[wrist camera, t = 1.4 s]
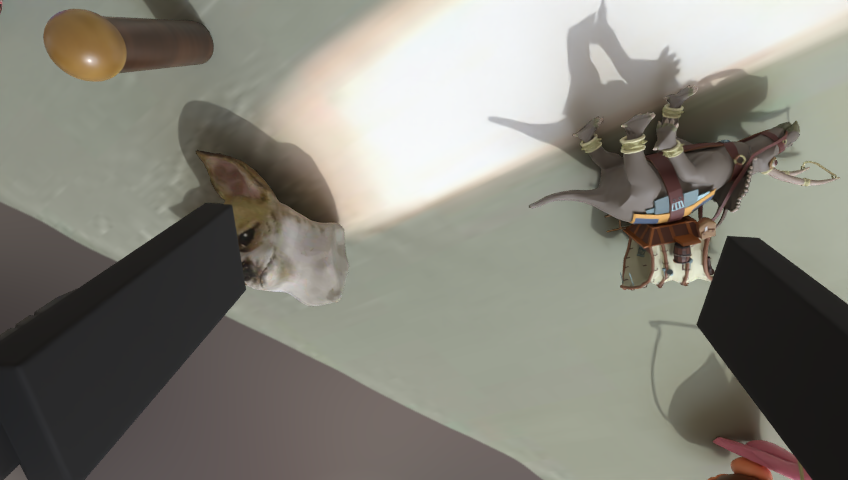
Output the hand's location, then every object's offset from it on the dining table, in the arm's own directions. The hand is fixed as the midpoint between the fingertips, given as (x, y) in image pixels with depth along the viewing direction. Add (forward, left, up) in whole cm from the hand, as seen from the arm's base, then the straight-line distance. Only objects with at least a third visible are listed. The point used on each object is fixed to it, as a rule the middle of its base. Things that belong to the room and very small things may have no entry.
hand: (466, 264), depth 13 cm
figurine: (+9, +14, -25) cm, 30 cm away
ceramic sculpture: (+6, -18, -25) cm, 31 cm away
